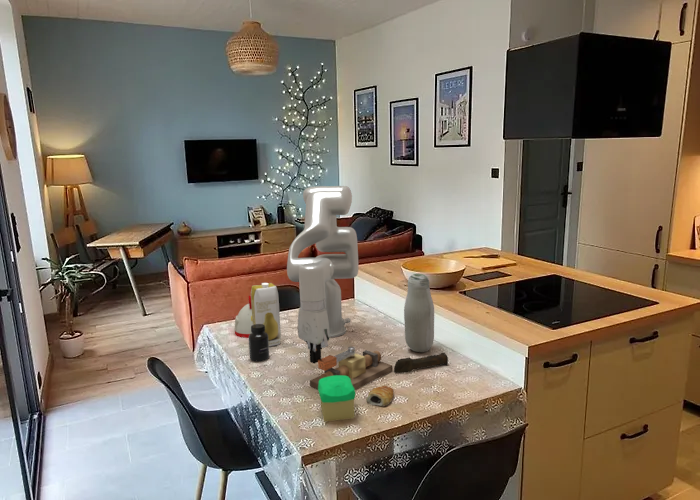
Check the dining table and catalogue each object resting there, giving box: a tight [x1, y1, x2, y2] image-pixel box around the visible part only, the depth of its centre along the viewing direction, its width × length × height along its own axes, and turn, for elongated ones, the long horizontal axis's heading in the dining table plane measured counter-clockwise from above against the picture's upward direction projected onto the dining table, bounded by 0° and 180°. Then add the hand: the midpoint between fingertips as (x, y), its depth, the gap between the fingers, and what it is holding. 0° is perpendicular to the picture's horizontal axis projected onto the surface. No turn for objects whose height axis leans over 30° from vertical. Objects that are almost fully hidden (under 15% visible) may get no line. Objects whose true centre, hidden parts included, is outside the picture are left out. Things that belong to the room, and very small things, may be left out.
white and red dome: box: [234, 295, 253, 339], centre depth 206 cm, size 14×14×15 cm
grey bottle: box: [403, 273, 435, 353], centre depth 180 cm, size 10×10×28 cm
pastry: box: [365, 385, 395, 407], centre depth 148 cm, size 9×7×4 cm
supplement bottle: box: [248, 324, 270, 363], centre depth 179 cm, size 7×7×12 cm
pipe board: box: [309, 349, 393, 391], centre depth 161 cm, size 25×12×7 cm, turn 135°
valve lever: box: [317, 346, 356, 371], centre depth 156 cm, size 14×3×3 cm, turn 137°
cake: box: [317, 375, 356, 422], centre depth 140 cm, size 10×11×10 cm
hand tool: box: [393, 352, 449, 374], centre depth 168 cm, size 19×4×5 cm, turn 108°
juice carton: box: [250, 282, 281, 347], centre depth 191 cm, size 9×8×24 cm
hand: (315, 361), depth 157 cm, fingers closed
